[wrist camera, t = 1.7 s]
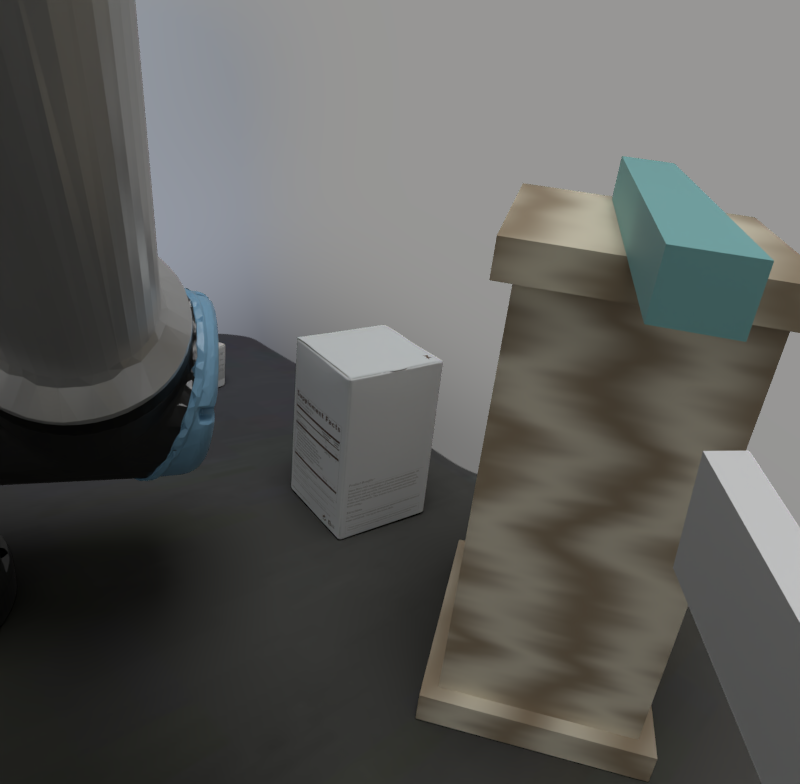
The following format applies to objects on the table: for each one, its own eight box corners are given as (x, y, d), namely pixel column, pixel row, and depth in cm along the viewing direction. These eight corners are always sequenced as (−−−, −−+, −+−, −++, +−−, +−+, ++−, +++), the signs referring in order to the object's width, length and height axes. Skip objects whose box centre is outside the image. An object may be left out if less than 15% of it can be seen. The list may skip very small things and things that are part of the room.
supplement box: (371, 464, 70) (386, 321, 63) (425, 513, 63) (448, 359, 57) (287, 487, 65) (294, 334, 58) (336, 542, 58) (350, 377, 52)
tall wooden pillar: (415, 718, 44) (496, 235, 31) (455, 559, 58) (523, 183, 45) (648, 782, 41) (842, 290, 28) (630, 600, 56) (754, 217, 43)
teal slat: (644, 324, 22) (666, 243, 21) (611, 199, 43) (622, 156, 42) (746, 342, 21) (774, 260, 20) (662, 206, 43) (674, 163, 42)
